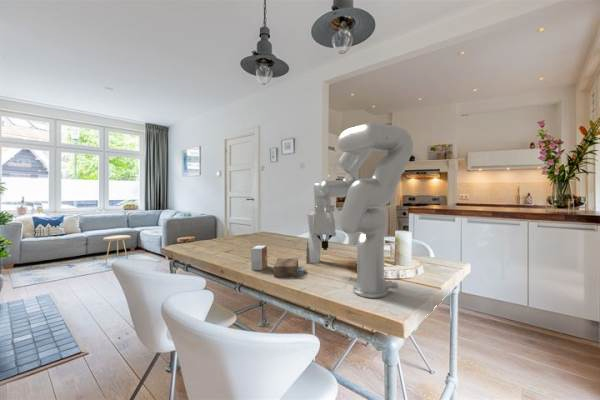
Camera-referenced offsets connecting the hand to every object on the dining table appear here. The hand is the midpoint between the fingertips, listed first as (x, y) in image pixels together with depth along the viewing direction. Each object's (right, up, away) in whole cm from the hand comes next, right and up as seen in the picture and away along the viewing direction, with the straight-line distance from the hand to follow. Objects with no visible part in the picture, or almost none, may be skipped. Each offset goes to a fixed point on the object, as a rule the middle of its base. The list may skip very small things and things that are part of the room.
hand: (325, 249), depth 123 cm
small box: (-31, -11, +10) cm, 35 cm away
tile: (-16, -11, +1) cm, 19 cm away
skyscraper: (-4, -11, +21) cm, 24 cm away
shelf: (-18, -11, +2) cm, 21 cm away
